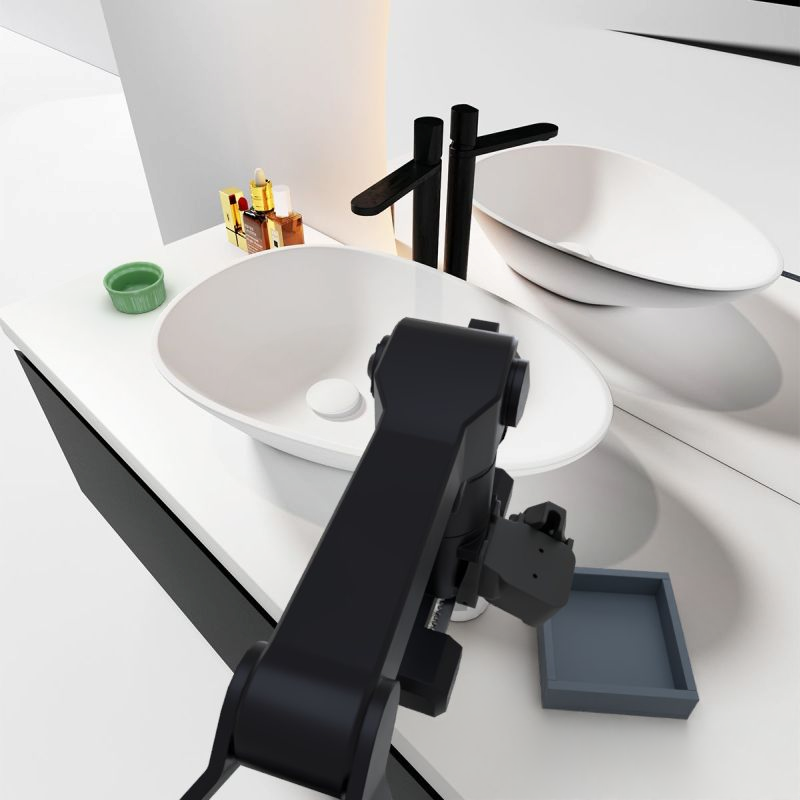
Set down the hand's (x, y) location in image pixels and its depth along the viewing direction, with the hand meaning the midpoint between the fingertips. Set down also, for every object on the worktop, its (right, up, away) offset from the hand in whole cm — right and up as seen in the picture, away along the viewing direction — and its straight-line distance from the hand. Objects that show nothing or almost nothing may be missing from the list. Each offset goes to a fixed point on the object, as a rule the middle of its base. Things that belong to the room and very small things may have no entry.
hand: (436, 632), depth 53 cm
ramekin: (-44, +33, +57) cm, 79 cm away
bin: (+17, -6, +13) cm, 22 cm away
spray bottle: (+3, -2, +17) cm, 18 cm away
